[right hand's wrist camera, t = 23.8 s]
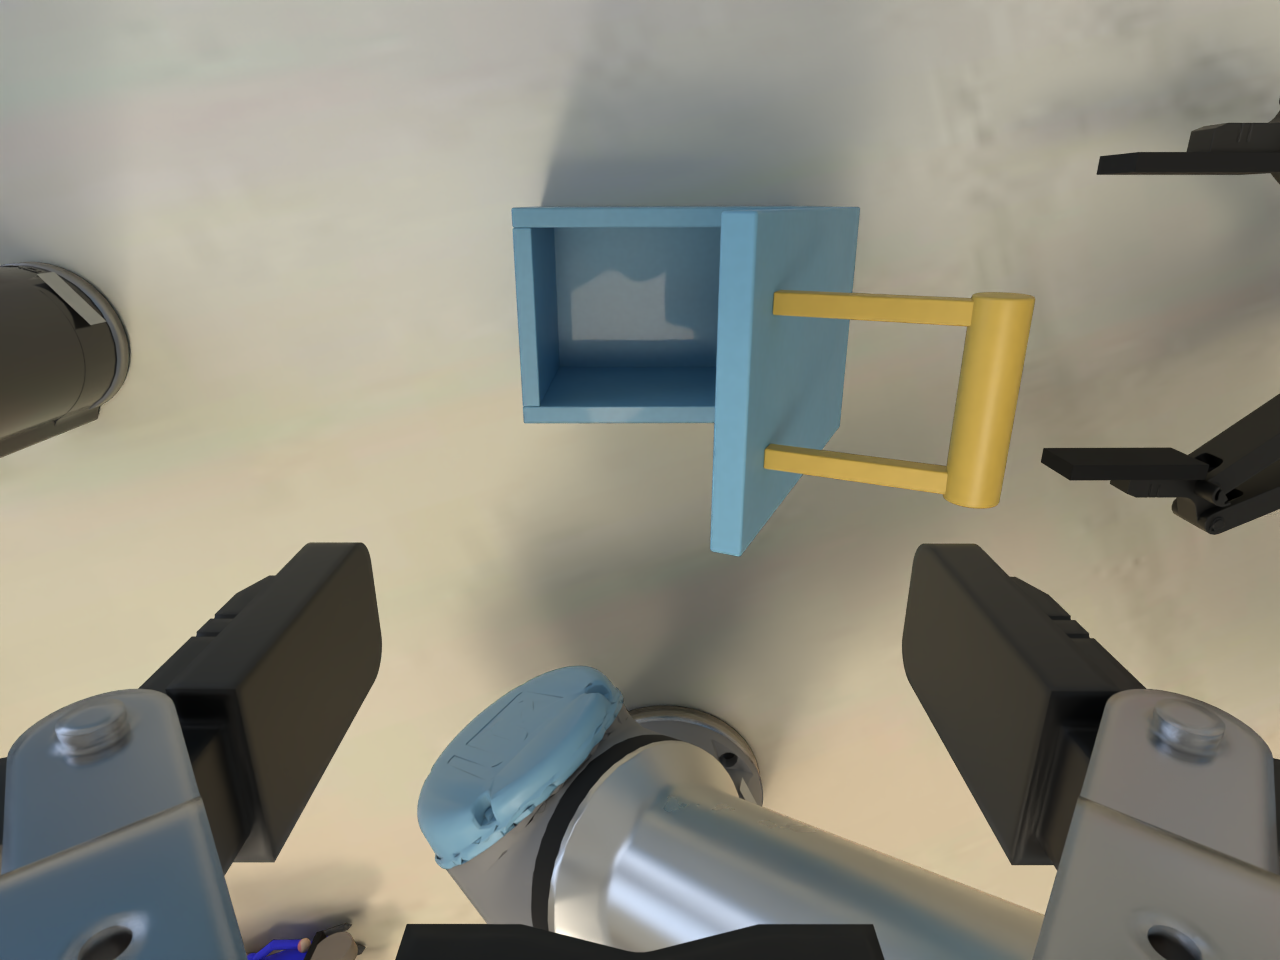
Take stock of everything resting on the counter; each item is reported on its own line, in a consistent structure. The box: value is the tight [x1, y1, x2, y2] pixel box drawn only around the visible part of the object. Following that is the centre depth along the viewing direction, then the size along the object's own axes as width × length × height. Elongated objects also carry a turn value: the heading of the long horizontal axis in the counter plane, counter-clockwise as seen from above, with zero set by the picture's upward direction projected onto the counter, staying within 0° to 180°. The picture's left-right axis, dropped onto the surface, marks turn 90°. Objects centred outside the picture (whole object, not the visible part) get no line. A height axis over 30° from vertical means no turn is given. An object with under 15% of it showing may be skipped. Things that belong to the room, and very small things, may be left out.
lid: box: [710, 207, 1035, 556], centre depth 28 cm, size 16×10×8 cm
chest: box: [512, 206, 825, 423], centre depth 41 cm, size 16×10×11 cm
